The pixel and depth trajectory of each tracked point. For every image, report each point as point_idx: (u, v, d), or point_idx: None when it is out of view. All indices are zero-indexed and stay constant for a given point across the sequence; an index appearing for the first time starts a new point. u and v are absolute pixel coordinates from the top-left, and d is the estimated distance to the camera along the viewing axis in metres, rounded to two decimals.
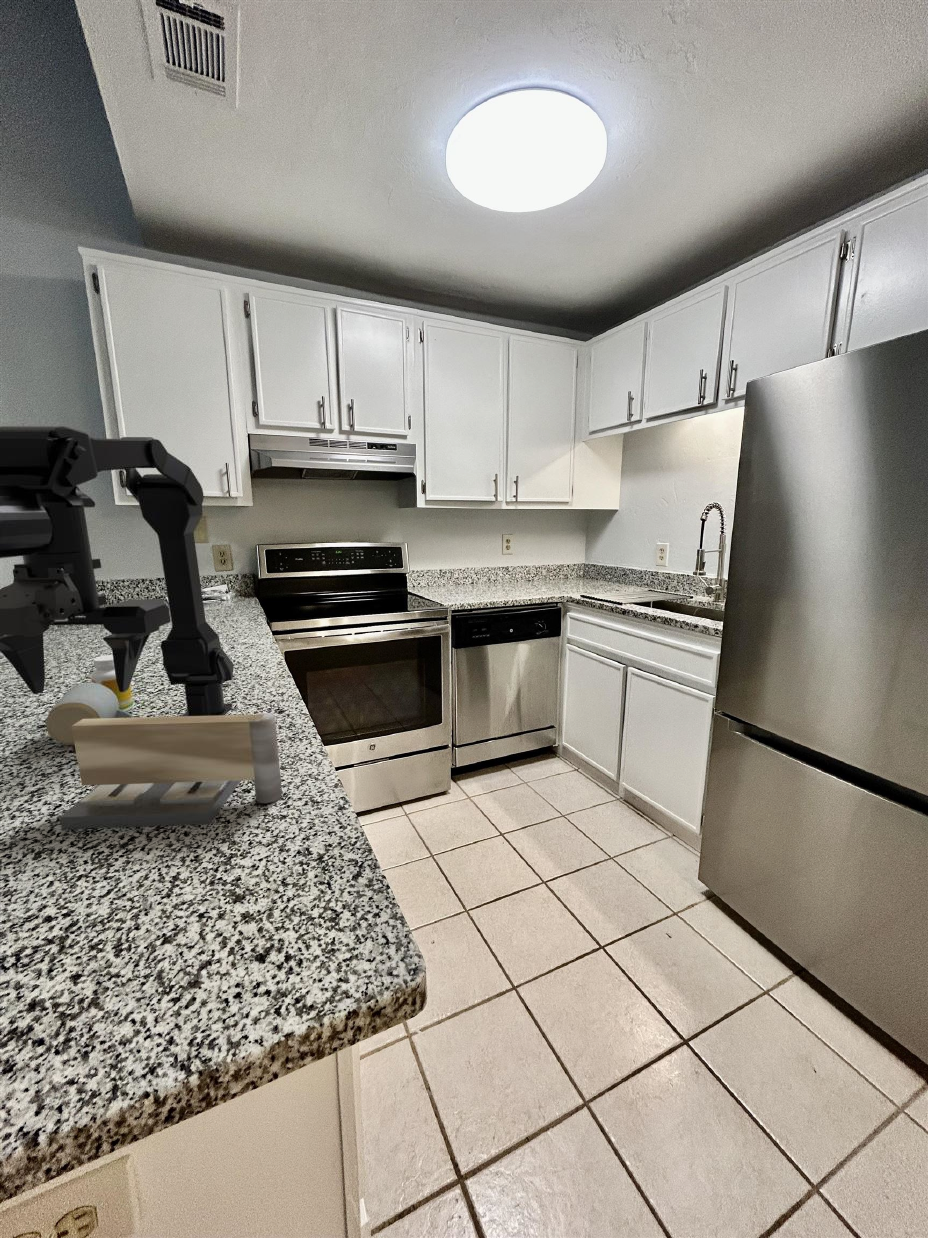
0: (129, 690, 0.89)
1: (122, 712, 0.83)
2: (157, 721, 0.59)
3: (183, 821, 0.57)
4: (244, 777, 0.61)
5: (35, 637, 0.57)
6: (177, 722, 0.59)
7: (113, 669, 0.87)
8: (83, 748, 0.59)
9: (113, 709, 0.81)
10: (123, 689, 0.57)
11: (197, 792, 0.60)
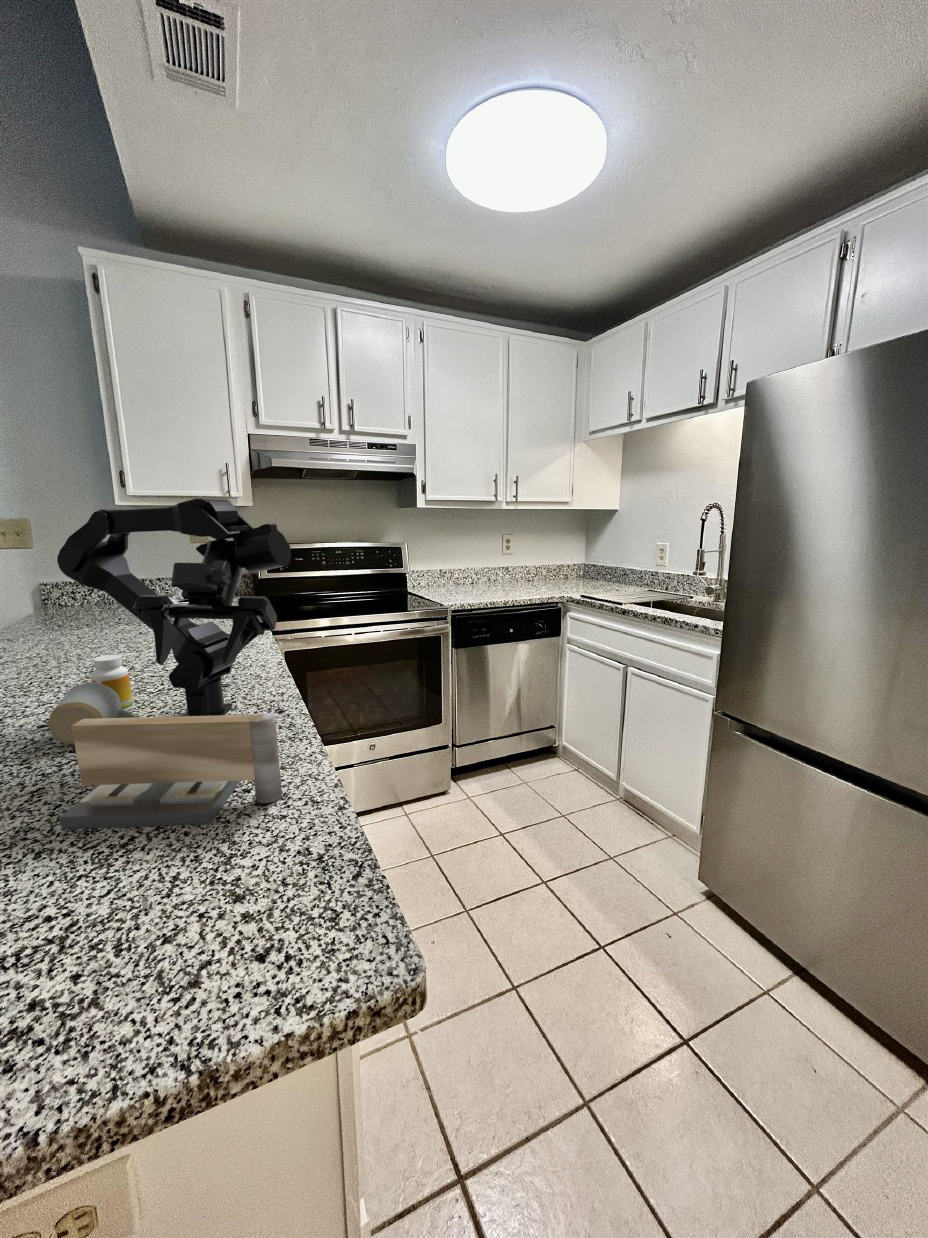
0: (129, 690, 0.89)
1: (124, 712, 0.83)
2: (157, 721, 0.59)
3: (183, 821, 0.57)
4: (244, 777, 0.61)
5: (173, 632, 0.75)
6: (177, 722, 0.59)
7: (113, 669, 0.87)
8: (83, 748, 0.59)
9: (115, 709, 0.81)
10: (226, 660, 0.71)
11: (197, 792, 0.60)
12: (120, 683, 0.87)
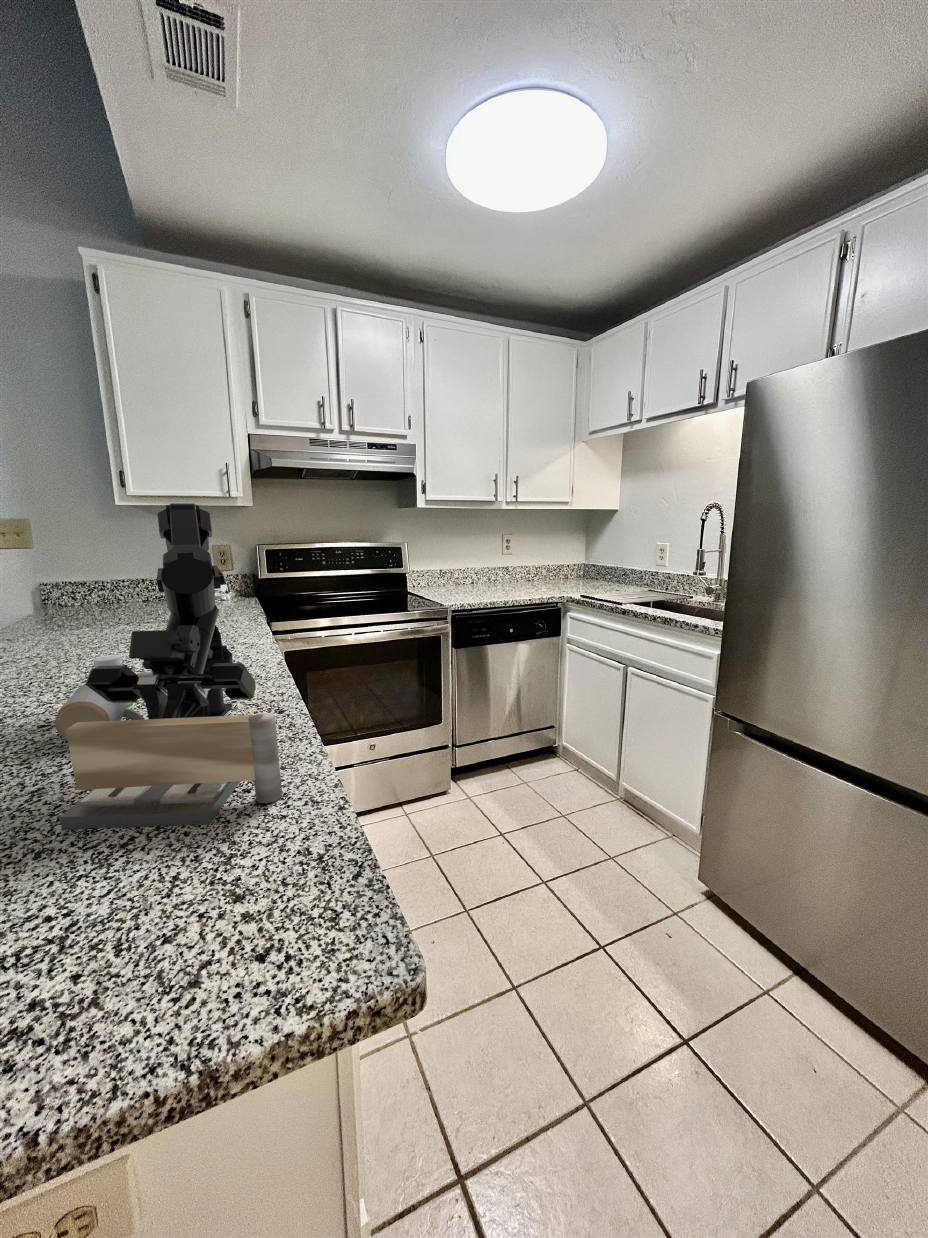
0: None
1: (130, 711, 0.83)
2: (154, 723, 0.59)
3: (183, 821, 0.57)
4: (244, 777, 0.60)
5: None
6: (176, 723, 0.58)
7: None
8: (78, 752, 0.58)
9: (121, 708, 0.81)
10: None
11: (197, 792, 0.60)
12: None
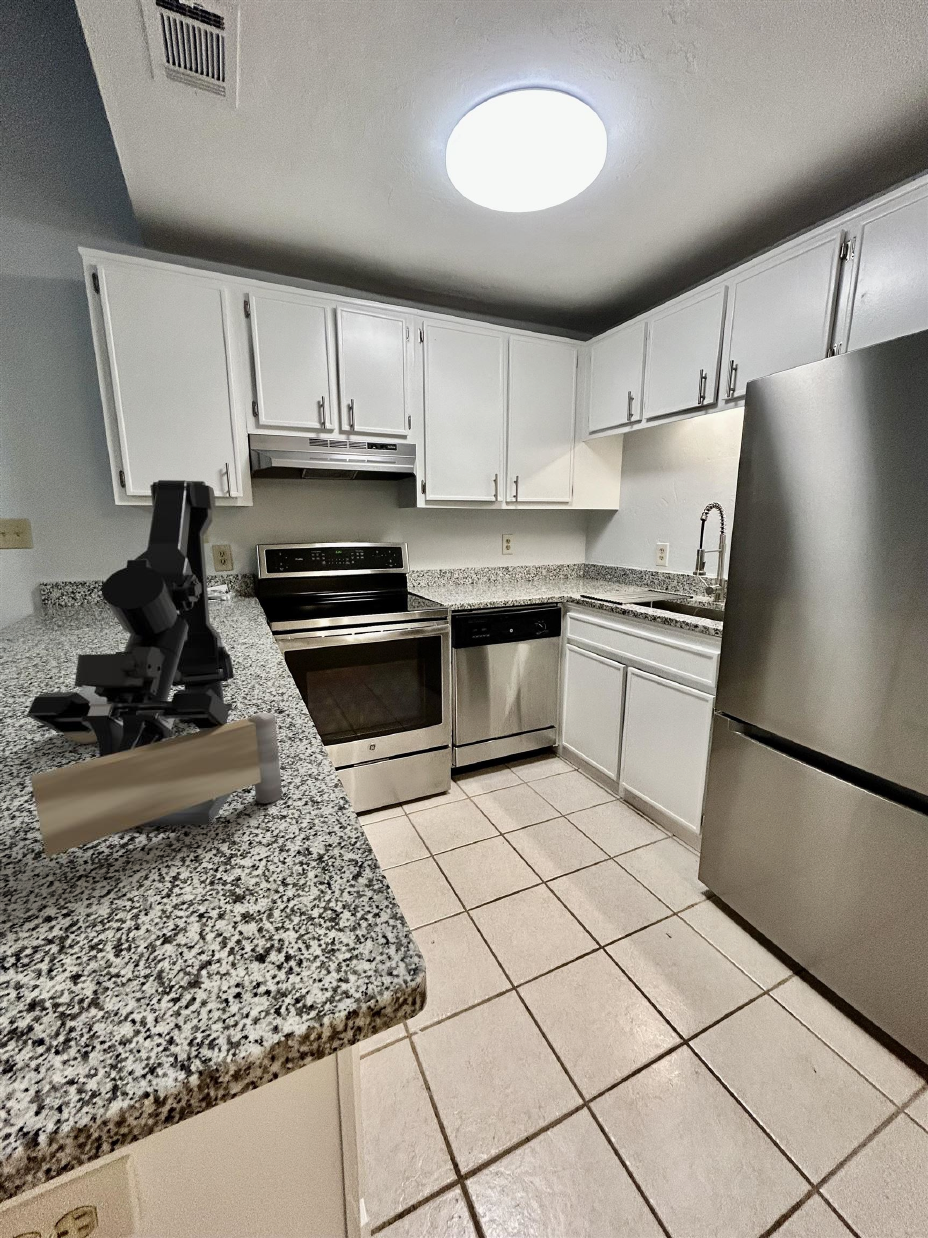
0: None
1: None
2: (145, 749, 0.52)
3: (183, 821, 0.57)
4: (250, 782, 0.59)
5: None
6: (175, 743, 0.54)
7: None
8: (49, 809, 0.47)
9: None
10: None
11: None
12: None
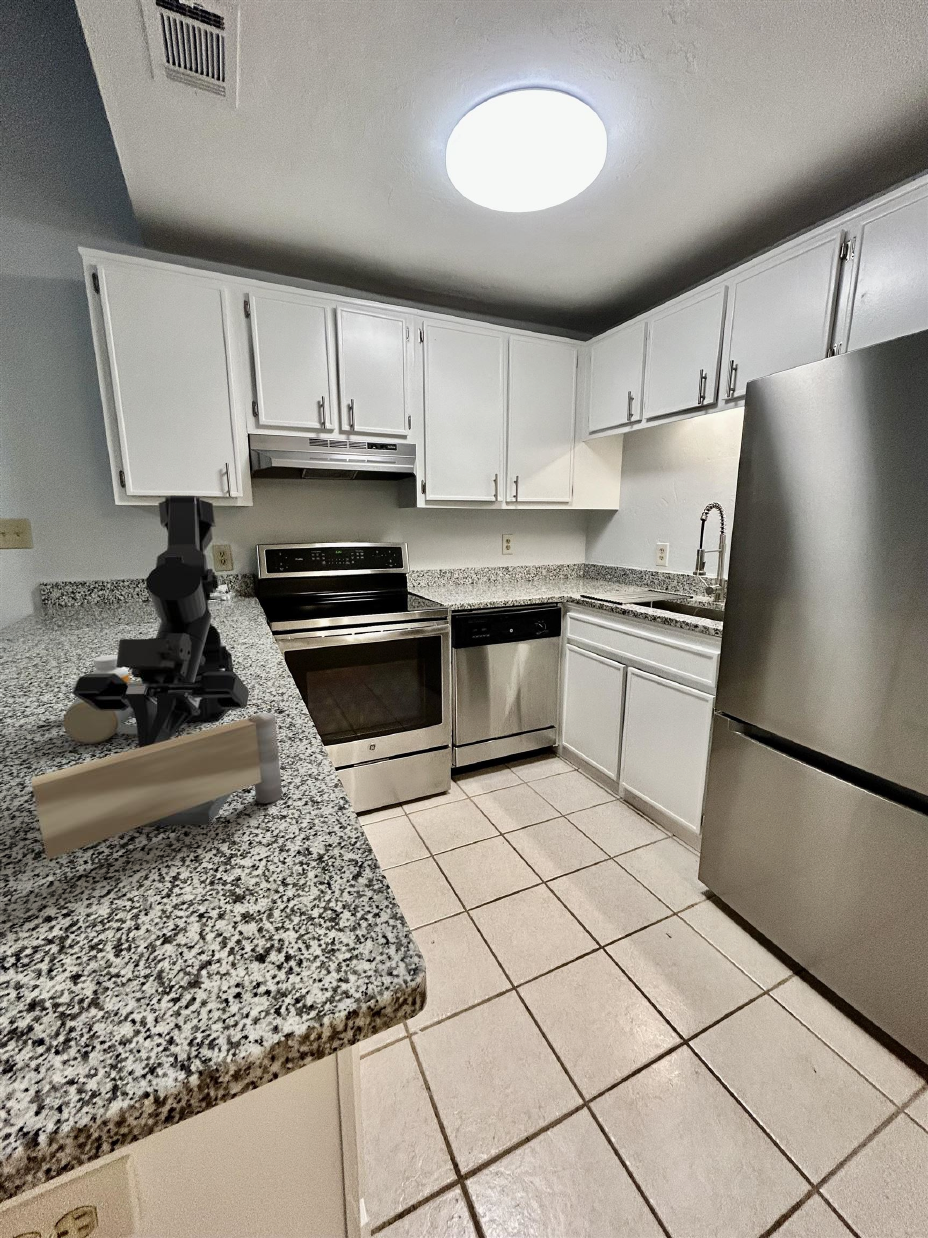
0: None
1: None
2: (146, 750, 0.52)
3: (183, 821, 0.57)
4: (250, 782, 0.59)
5: None
6: (176, 744, 0.53)
7: (113, 669, 0.87)
8: (50, 811, 0.47)
9: (129, 708, 0.82)
10: None
11: None
12: None
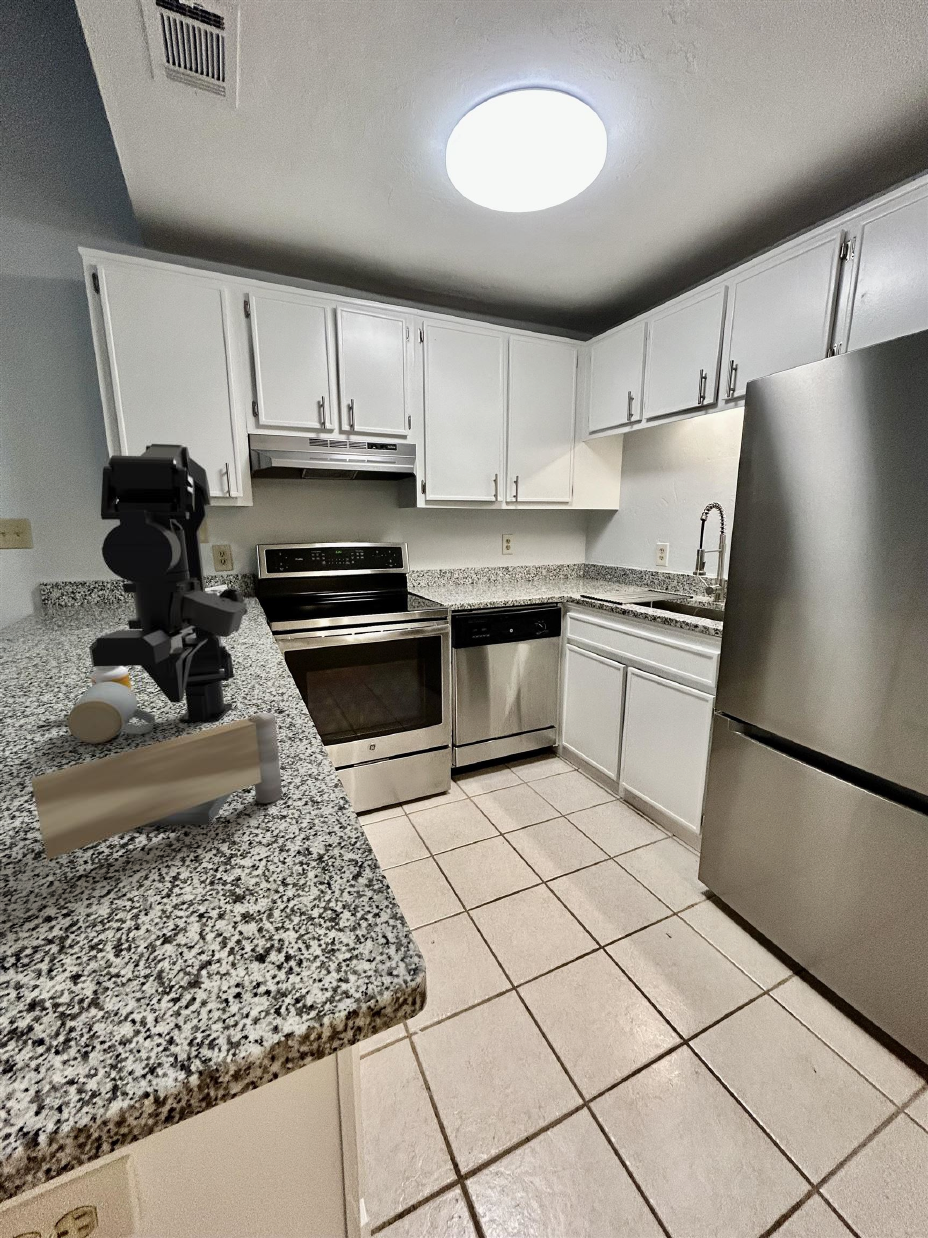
0: None
1: (141, 711, 0.83)
2: (146, 750, 0.52)
3: (183, 821, 0.57)
4: (250, 782, 0.59)
5: None
6: (176, 744, 0.53)
7: (113, 669, 0.87)
8: (50, 811, 0.47)
9: (132, 708, 0.82)
10: (182, 697, 0.61)
11: None
12: (120, 683, 0.87)
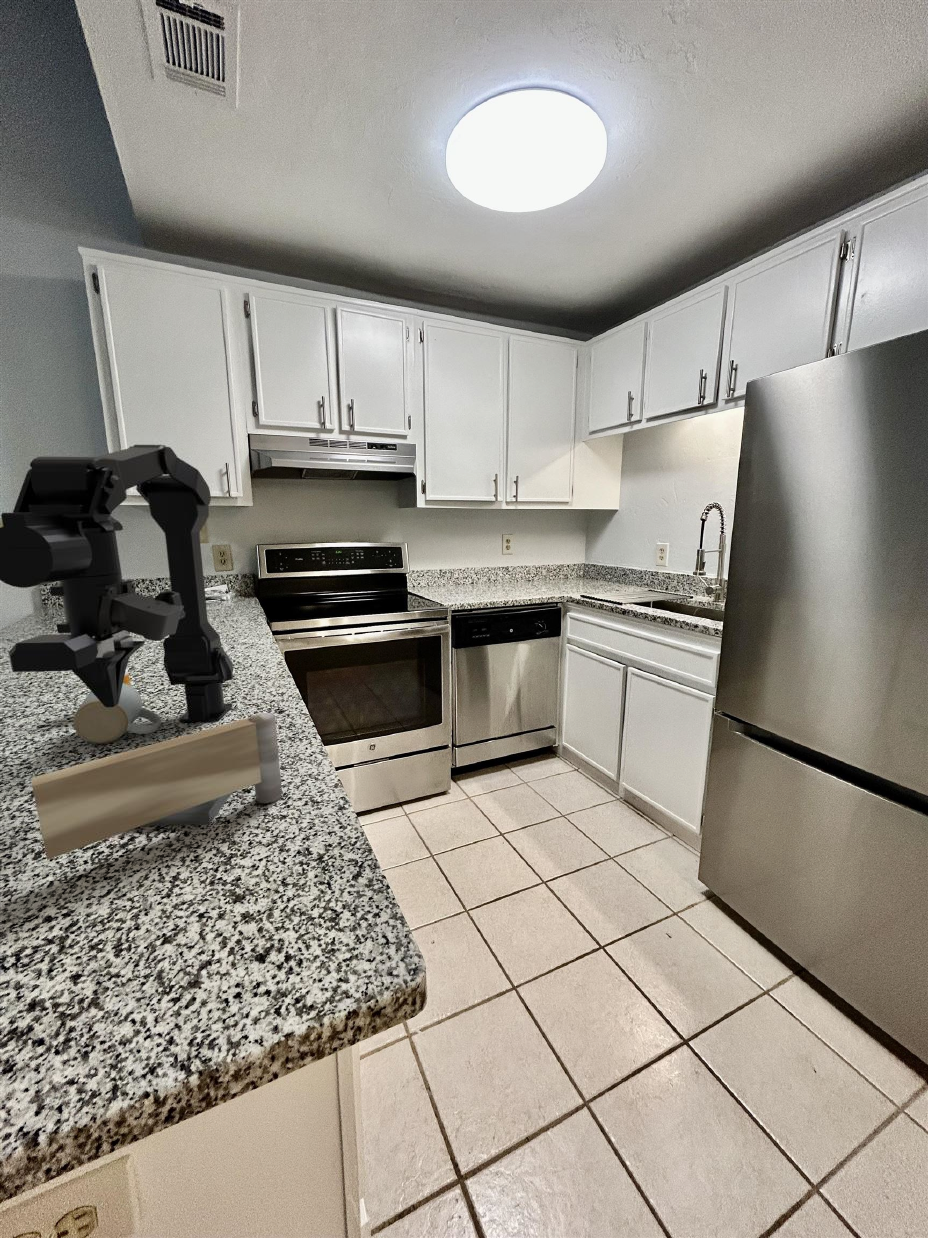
0: None
1: (146, 711, 0.83)
2: (146, 750, 0.52)
3: (183, 821, 0.57)
4: (250, 782, 0.59)
5: None
6: (176, 744, 0.53)
7: None
8: (50, 811, 0.47)
9: (138, 708, 0.82)
10: (118, 701, 0.60)
11: None
12: None
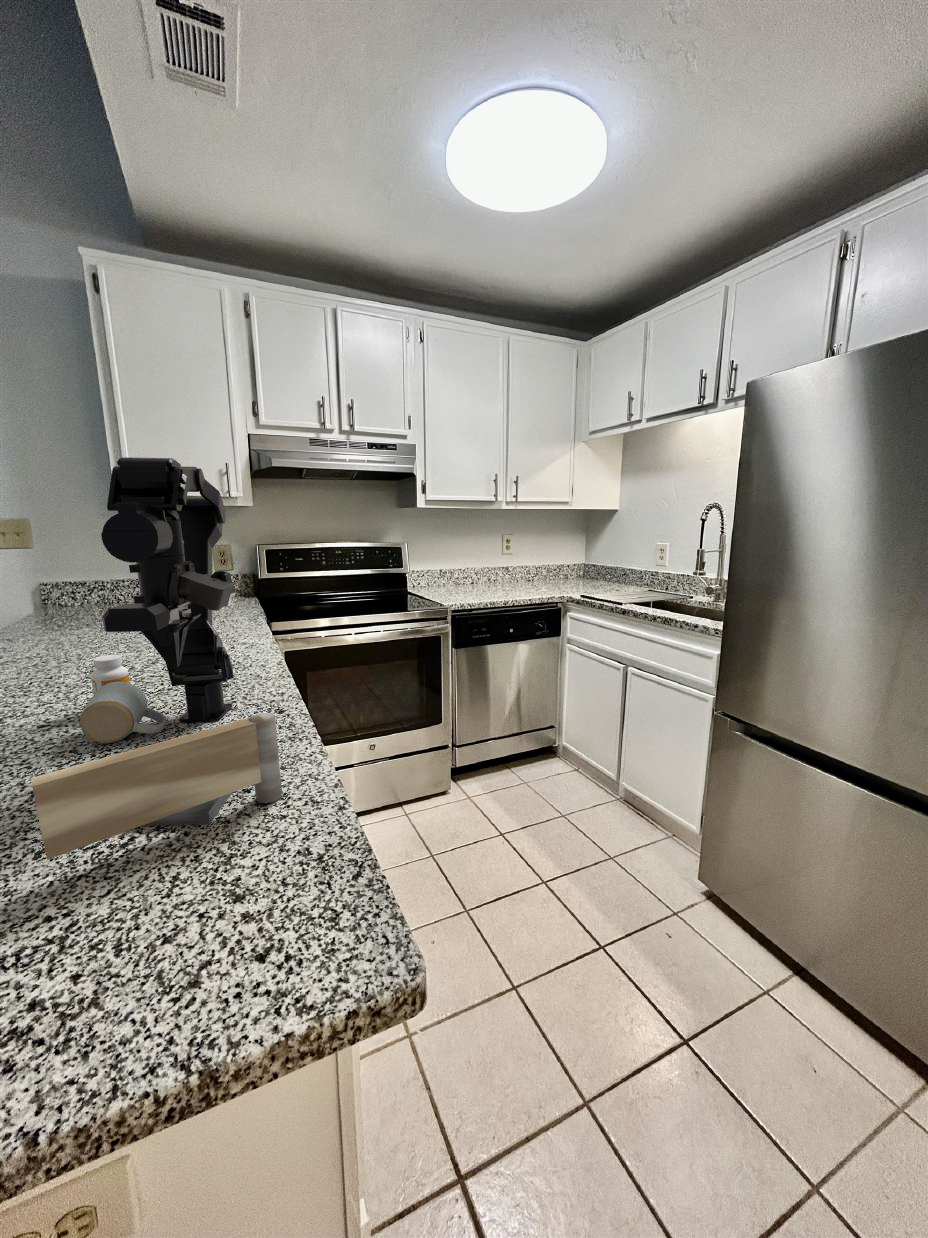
0: None
1: (151, 710, 0.83)
2: (146, 750, 0.52)
3: (183, 821, 0.57)
4: (250, 782, 0.59)
5: None
6: (176, 744, 0.53)
7: (113, 669, 0.87)
8: (50, 811, 0.47)
9: (143, 707, 0.82)
10: (179, 663, 0.72)
11: None
12: None
